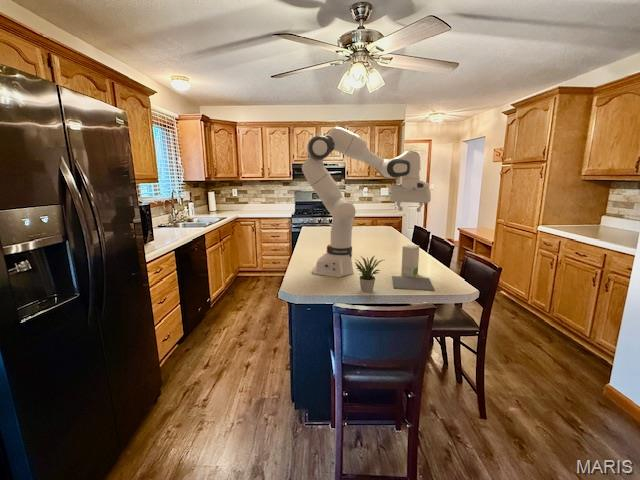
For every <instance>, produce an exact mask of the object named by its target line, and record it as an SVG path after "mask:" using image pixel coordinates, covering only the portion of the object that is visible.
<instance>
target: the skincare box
mask: <svg viewBox="0 0 640 480" xmlns="http://www.w3.org/2000/svg"><path fill="white" fill-rule="evenodd" d="M401 253H402V254H401V272H400V276H401V277H416V276H417V275H418V274H419V260H420V259H419V258H420V245H417V244H405V245H404V246H402V252H401Z"/></svg>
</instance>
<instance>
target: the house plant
mask: <svg viewBox="0 0 640 480" xmlns="http://www.w3.org/2000/svg"><path fill="white" fill-rule="evenodd" d="M359 256H360V258H361V259H362V260H363V263H364V265H363V264H362V263H361V261H360V260H358V259H356V261H355V262H354V264H355V266H356V267H357V268H355V270H356V271H358V272H360V273H359V274H358V276H359V284H360V291H361V292H363V293H365V294H366V293H367V294H369V293H373V292H374V286H375V283H376V282H375V281H376V277H375V276H373V275H376V274H379V272H381V269H376V267H377V266H379V264H380V262H383V261H384V259H381V260H379V261H378V259H375V255H373V256H372V257H371V258H370V260H369V258H368V257H366V259H367V260H366V259H365V258H364V257H363V256H361V255H359ZM374 259H375V260H374ZM374 269H375V270H374Z"/></svg>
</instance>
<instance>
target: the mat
mask: <svg viewBox="0 0 640 480" xmlns="http://www.w3.org/2000/svg"><path fill="white" fill-rule="evenodd" d="M391 279H392V286H393V289H396V290H410V291H426V292H435V290H436V289H435V287H434V285H433V284H432V282H431V279H430V278H429V277H416V276H414V277H405V276H401V275H400V276H399V275H398V276H397V275H392V276H391Z"/></svg>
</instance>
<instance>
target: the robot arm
mask: <svg viewBox="0 0 640 480" xmlns="http://www.w3.org/2000/svg"><path fill="white" fill-rule="evenodd" d="M306 150H307V159H306V160H305V161H304V162H303V163H302V166H301V171H302V173H303V175H304V177H305V179H306V180H307V182H308V184H309V185H310V186H311V188H312V190H313V191H314V192H315V193H316V195H317V196H318V198H319V199H320V201H321V202H322V204H323V205H324V207H325V209H326V210H327V211H328V213H329V215H331V217H332V220H331V221H332V222H331V229H330V244H327V246H326V252H325V253H324V254H322V256H320V257H319V258H318V259H317V261H316V264H315V266H313V267H312V269H311V273H312V274H313V275H318V276H319V275H320V276H328V277H334V278H335V277H337V278H341V277H344V276H350V275H352V274H354V272H355V270H354V267H353V262H352V261H353V260H352V256H353V246H352V236H353V235H352V234H353V232H352V231H353V225H354V220H355V216H356V212H357V211H356V207H355V206H354V204H353V203H352V202H351V201H350V200H348V199H347V198H345V197H344V195H343V193H342V192H341V190H340V188H339V185H338V184H337V183H336V181H335V179H334V178H333V176H332V175H331V174H330V172H329V171H328V169H327V168H326V166H325V165H324V159H326V158H327V157H329V155H330V154H331V153H332V152H333V151H335V152H338V153H340V154H341V155H343V156H345V157H348V158H349V159H350V158H351V159H353V160H355V161H356V160H357V161H360V162H363V163H365V164H367V165H368V166H370V167H372V168H373V169H375V170H376V171H377V172H378V174H379V175H380V176H381V177H383V179H398V178H401V184H400V183H399V184H397V183H396V184H395V183H394V184H393V185H391V186H390V195H389V196H390V199H389V200H390V202H391V203H396V205H397V207H398V211H399V212H402V211H403V207H401V204H402V203H417V204H418V205H419V207H417V208H416V212H417V213H419V212H421V210H422V207H423V206H424V204H429V203H430V202H431V201H432V200H431V199H432V198H431V197H432V196H431V194H432V193H431V189H430V183H428V182H427V181H423V180H420V179H421V177H420V171H421V156H420V154H419V152H417V151H411V150H407V151H404V152H403V153H401V154H400V155H398V156H396V157H393V158H384V157H383V158H382V157H381V156H379V155H378V154H377V153H373V152H372V151H371V150H369V148H368V144H367V142H366V141H365V139H363V138H362V137H361V136H360V135H358V134H356V133H354V132H353V131H351V130H348V129H345V128H342V127H339V126H334V127H332V128H331V129H330V130H329V132H328V133H327V134H325V135H316V136H313V137H311V138H310V139H309V140H308V142H307V145H306Z"/></svg>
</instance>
